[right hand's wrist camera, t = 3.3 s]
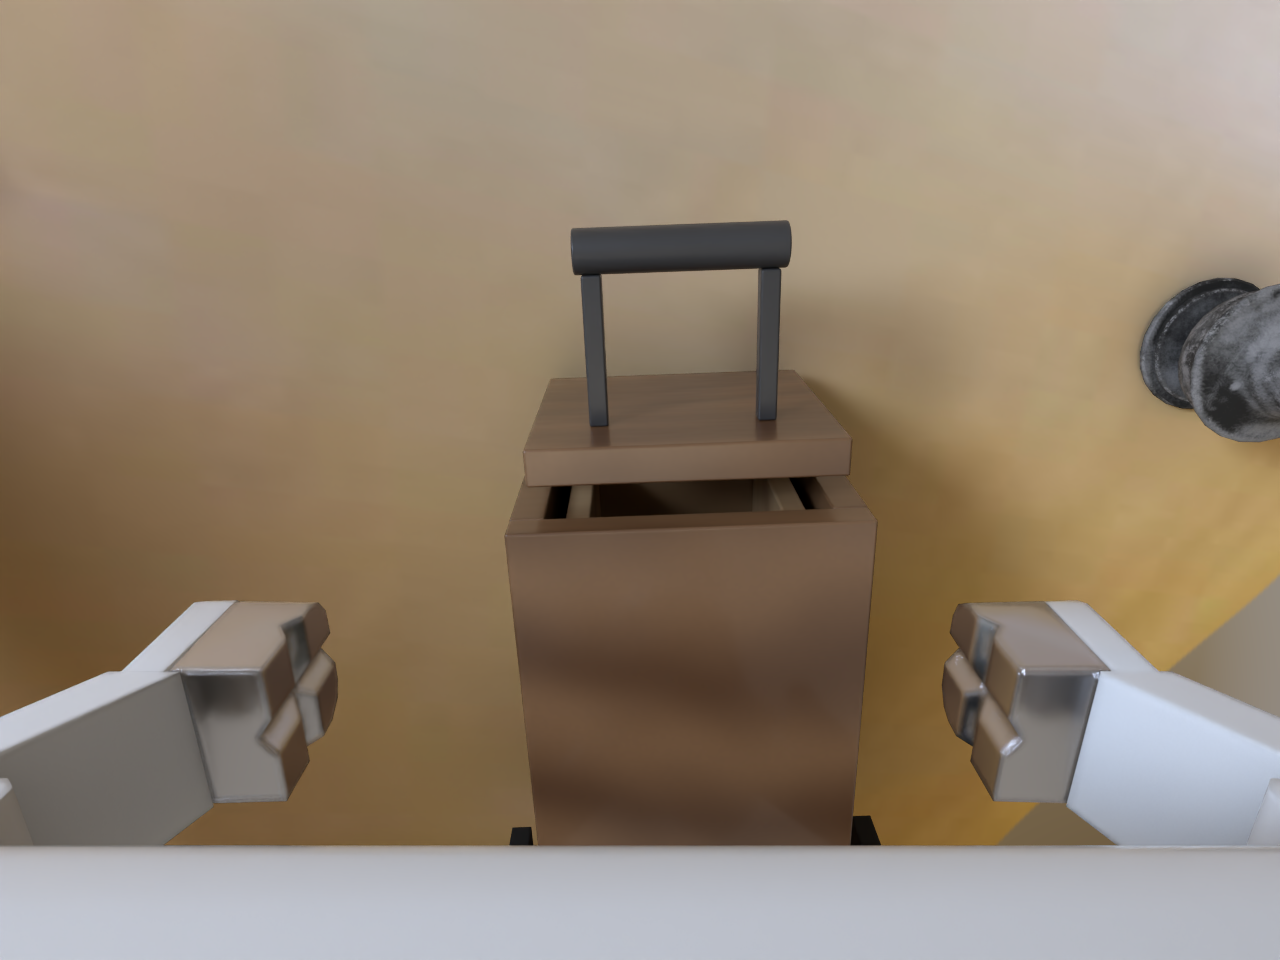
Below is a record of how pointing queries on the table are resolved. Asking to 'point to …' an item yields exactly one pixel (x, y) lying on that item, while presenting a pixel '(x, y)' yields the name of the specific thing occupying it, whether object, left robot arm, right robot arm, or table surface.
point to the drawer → (682, 396)
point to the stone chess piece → (1219, 357)
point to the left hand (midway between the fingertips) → (691, 845)
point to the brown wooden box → (693, 668)
